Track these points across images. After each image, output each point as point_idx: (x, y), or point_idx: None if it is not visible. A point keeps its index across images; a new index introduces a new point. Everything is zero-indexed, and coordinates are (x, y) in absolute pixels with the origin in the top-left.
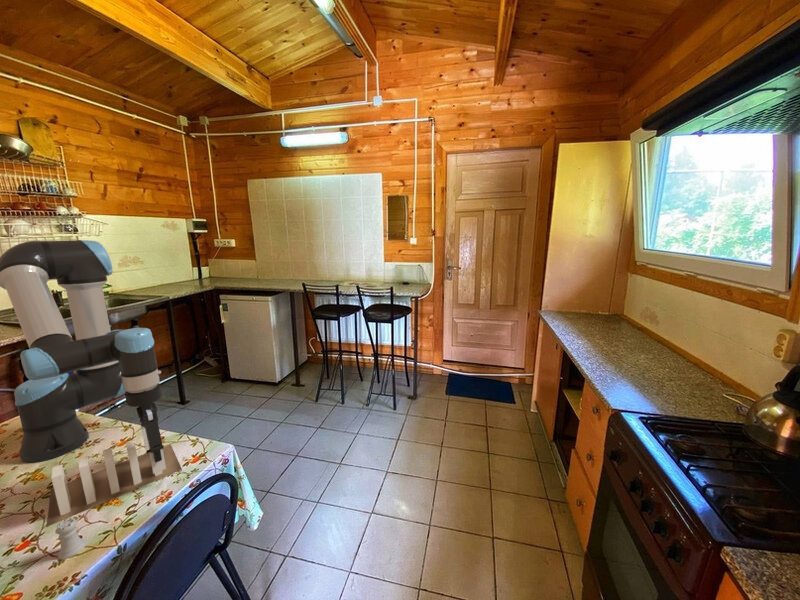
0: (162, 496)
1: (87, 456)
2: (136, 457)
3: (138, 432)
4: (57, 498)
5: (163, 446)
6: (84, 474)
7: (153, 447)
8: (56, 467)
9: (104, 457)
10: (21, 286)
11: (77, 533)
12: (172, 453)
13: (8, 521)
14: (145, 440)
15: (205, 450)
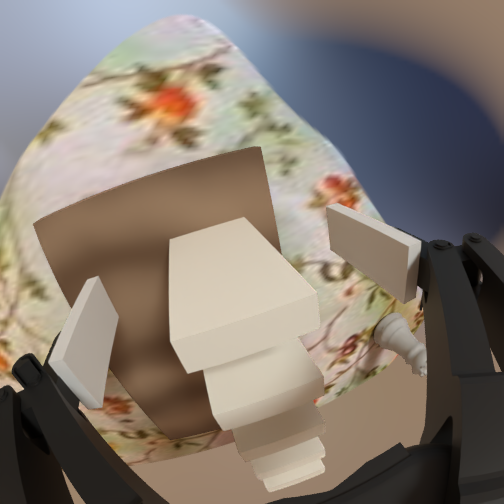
0: (335, 203)
1: (262, 473)
2: (300, 343)
3: None
4: None
5: (478, 234)
6: None
7: (479, 282)
8: (276, 488)
9: (309, 438)
10: None
11: (409, 340)
12: (105, 200)
13: (225, 443)
14: (107, 345)
15: (124, 73)
